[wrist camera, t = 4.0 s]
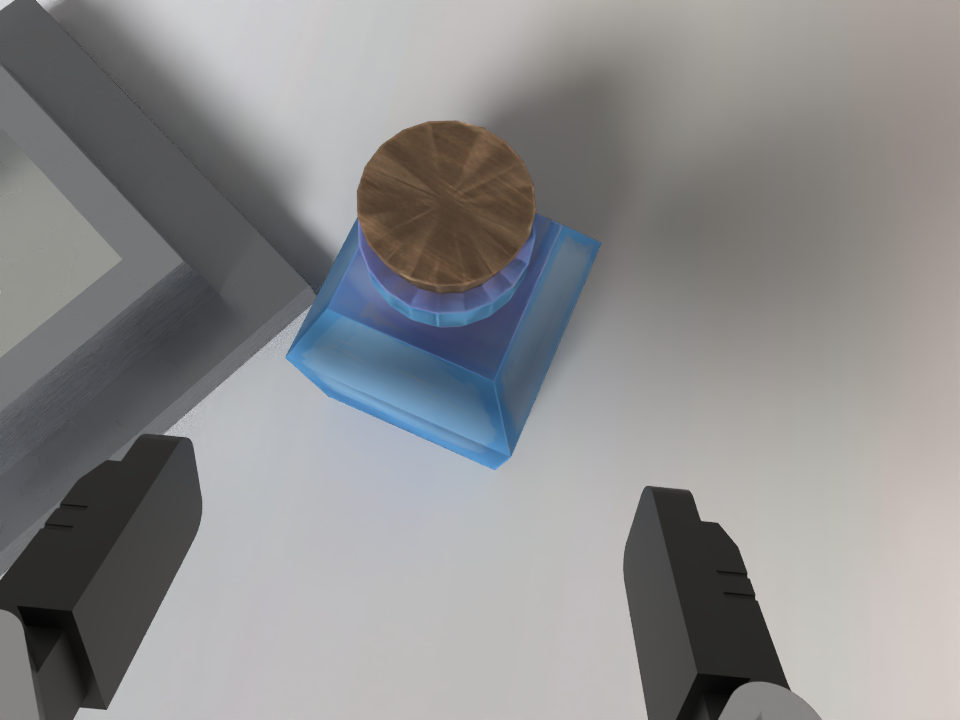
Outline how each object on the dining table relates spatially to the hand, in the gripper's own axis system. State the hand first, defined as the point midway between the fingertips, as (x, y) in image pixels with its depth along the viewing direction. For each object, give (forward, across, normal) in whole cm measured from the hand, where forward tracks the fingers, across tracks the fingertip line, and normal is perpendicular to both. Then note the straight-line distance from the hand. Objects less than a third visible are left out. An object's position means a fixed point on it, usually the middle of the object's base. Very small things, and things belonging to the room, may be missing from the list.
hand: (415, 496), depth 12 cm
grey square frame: (+11, +16, +4) cm, 20 cm away
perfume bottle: (+11, 0, +4) cm, 12 cm away
